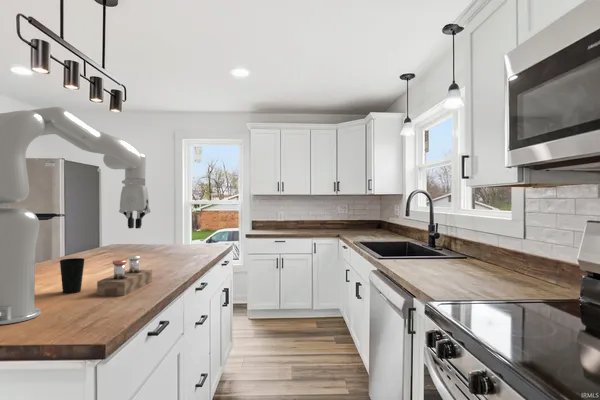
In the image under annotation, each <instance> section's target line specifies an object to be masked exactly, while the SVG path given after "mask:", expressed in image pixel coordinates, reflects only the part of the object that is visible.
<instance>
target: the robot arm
mask: <svg viewBox="0 0 600 400" xmlns="http://www.w3.org/2000/svg"><path fill="white" fill-rule="evenodd" d="M47 135H56V136H58V137H60V138H61V139H64V140H65V141H66V142H68V143H70V144H72V145H73V146H75V147H77V148H78V149H80V150H82V151H85V152H89V153H94V154H102V155H103V157H102V159H103V164H104V165H105V166H106V167H107V168H109V169H111V170H124V179H123V180H121V183H122V184H124V186H122V188H121V192H120V200H119V210H118V212H119V213H121V214H122V215H124V216H125V217H126V219H127V228H128V229H133V228H135V229H141V228H142V222H143V221H142V219H143V217H145V216H146V215H147V214H150V213H151V209H150V205H149V203H150V200H149V192H148V187H147V186H146V164H147V163H146V159H147V158H146V155H145V154H143V153H140V152H139V151H138V149H136V148H135V147H134V146H132V145H131V144H130V143H127V142H126V141H125V140H122V139H120V138H118V137H116V136H112V135H111V134H108V133H106V132H103V131H100V130H98V129H95V128H94V127H92V126H91V125H90V124H88V123H87V122H86V121H84V120H82V119H81V118H80V117H78V116H76V115H75V114H74V113H72V112H71V111H69V110H67V109H65V108H64V107H61V106H51V107H44V108H36V109H31V110H24V109H23V110H15V111H10V112H9V111H8V112H2V113H0V325H8V324H13V323H14V324H17V323H19V322H24V321H28V320H31V319H33V318H36V317H38V316H40V314H41V313H42V308H39V307H36V306H35V302H36V301H35V300H36V299H35V295H36V293H35V292H36V290H35V286H36V249H37V248H36V247H37V246H36V245H37V240H38V238H39V233H40V220H39V218H38V217H37V215H36V214H35V213H34V212H33V211H31V210H28V209H26V208H22V207H11V204H17V203H20V202H23V201H25V200H26V199H27V198H28V196H29V195H30V182H29V176H28V175H29V174H28V169H27V160H26V159H27V158H26V157H27V150H28V147H29V146H30V145H31V143H32V142H33V141H34V140H35V139H37V138H39V137H42V136H47ZM134 212H136V218H134Z"/></svg>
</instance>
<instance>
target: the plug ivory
mask: <svg viewBox="0 0 600 400" xmlns="http://www.w3.org/2000/svg"><path fill="white" fill-rule="evenodd" d="M140 259H141V256H140V255H129V256H127V260H129V261H128V263H129V264H128V265H129V266H128V267H129V268H128V270H129V273H131V274H137V273H139V270H140Z"/></svg>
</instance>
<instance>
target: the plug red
mask: <svg viewBox="0 0 600 400" xmlns="http://www.w3.org/2000/svg"><path fill="white" fill-rule="evenodd" d="M126 264H127V260H126V259H116V260H115V259H114V260H112V265H113V275H114V280H122V279H125V271H126Z"/></svg>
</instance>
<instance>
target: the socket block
mask: <svg viewBox="0 0 600 400" xmlns="http://www.w3.org/2000/svg"><path fill="white" fill-rule="evenodd" d="M152 282H153V269H139V273H137V274H131V273H129V269H127V270H125V279H122V280H114V274H113V275H111V276H108V277H105V278H102V279H99V280H97V283H96V284H97V285H96V286H97V287H96V288H97V289H96V296H121V297H122V296H126V295H129V294H131V293H133V292H135V291H137V290H139V289H141V288H143V287H145V286H146V285H148V284H150V283H152ZM144 285H145V286H144Z"/></svg>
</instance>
